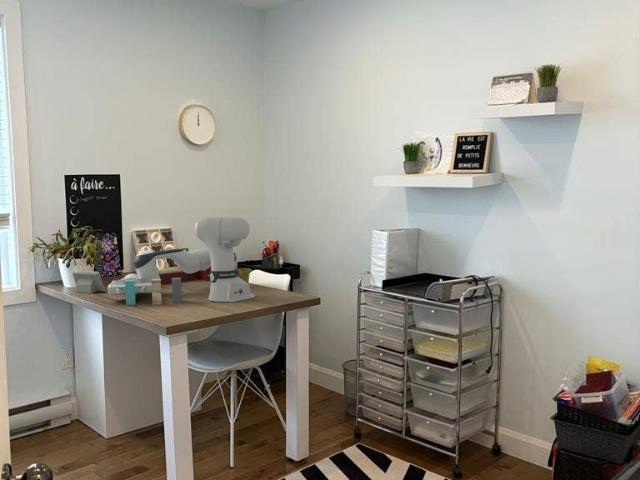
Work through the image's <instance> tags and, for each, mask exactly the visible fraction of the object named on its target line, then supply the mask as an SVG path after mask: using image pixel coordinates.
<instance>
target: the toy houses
mask: <svg viewBox="0 0 640 480" xmlns="http://www.w3.org/2000/svg"><path fill="white" fill-rule="evenodd" d="M210 270H211V265H210V266H208V267H206V268H204V269H202V270H200V271H197V272H194V273H185V272H183V271H182V270H181V269H180V268H179V267H178V266H177V265H176V264H175V265H173V266H172V267H167V266H165V267H164V268H162V267H161V268H157V271H158V273H159V276H160V279H161V285H169V284H172V278H181V283H183V282H187V281H188V280H189V281H197V280H200V281H204V282H209V281H210V282H211V280H210Z"/></svg>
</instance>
